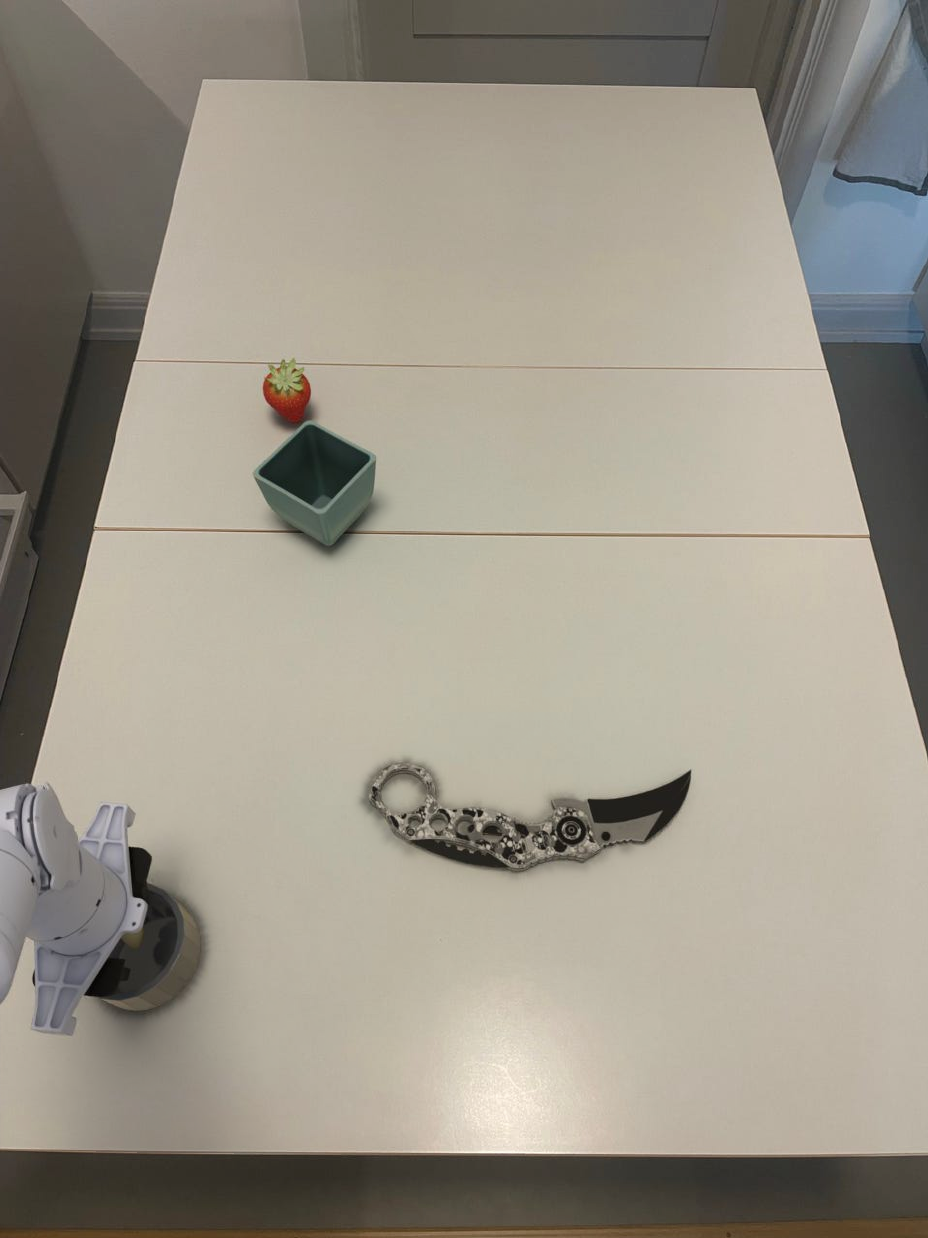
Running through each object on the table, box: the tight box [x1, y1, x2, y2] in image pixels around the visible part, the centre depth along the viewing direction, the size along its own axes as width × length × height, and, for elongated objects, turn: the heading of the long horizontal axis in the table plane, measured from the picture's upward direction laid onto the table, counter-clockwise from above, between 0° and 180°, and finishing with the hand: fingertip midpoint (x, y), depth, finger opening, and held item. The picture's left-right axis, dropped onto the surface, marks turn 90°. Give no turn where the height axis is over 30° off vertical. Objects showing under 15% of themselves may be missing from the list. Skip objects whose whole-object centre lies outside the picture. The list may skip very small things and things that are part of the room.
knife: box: [368, 762, 692, 872], centre depth 76 cm, size 28×2×10 cm
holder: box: [97, 882, 202, 1012], centre depth 68 cm, size 8×8×6 cm
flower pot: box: [252, 420, 377, 547], centre depth 89 cm, size 9×9×9 cm
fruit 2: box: [262, 357, 312, 423], centre depth 97 cm, size 5×5×8 cm
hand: (125, 938), depth 66 cm, fingers closed on fruit 1, 4 cm apart
